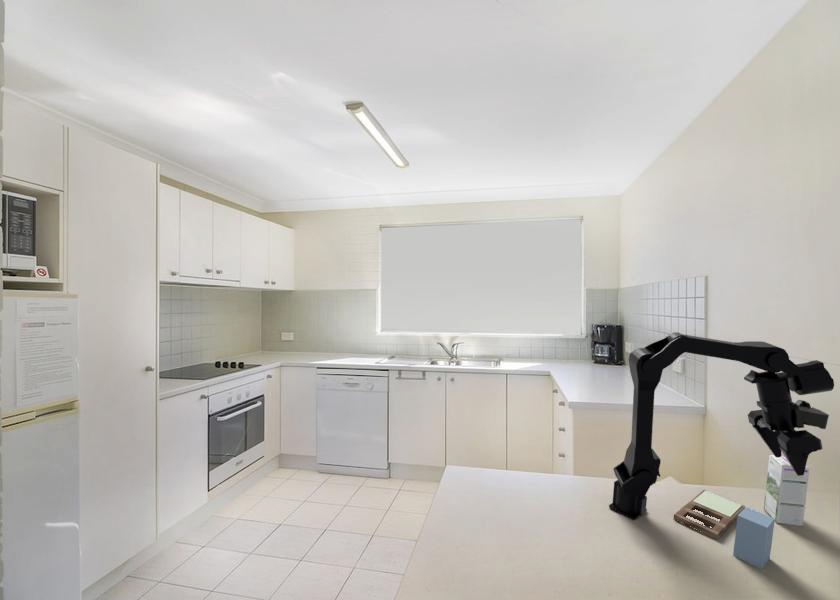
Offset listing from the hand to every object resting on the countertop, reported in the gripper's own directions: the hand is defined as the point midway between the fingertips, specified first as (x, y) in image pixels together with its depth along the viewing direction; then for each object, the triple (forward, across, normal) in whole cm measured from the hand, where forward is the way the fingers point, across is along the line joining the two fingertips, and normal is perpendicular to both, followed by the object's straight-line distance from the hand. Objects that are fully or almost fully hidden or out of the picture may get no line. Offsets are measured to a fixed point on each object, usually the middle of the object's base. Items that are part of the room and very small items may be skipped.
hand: (788, 465), depth 100 cm
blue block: (+13, -12, +14) cm, 23 cm away
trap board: (+12, +2, +17) cm, 21 cm away
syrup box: (+16, +6, +1) cm, 17 cm away
